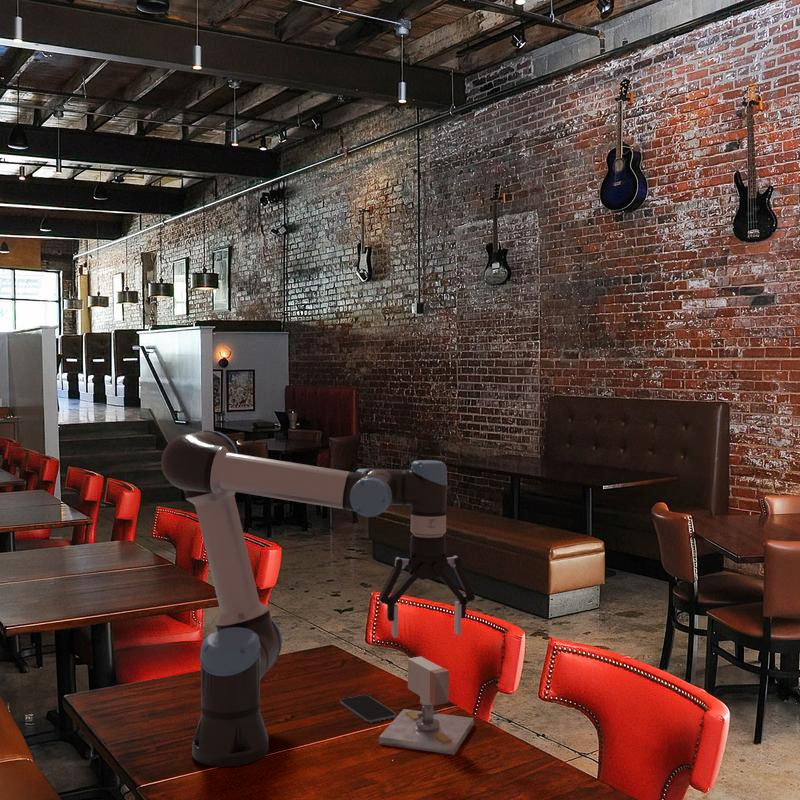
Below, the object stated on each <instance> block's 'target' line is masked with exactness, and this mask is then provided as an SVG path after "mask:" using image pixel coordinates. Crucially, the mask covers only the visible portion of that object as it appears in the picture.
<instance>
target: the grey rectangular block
mask: <svg viewBox="0 0 800 800" xmlns="http://www.w3.org/2000/svg"><path fill="white" fill-rule="evenodd" d="M407 689H408V690H409V691H411V692H413V693H414V694H416V695H418V696H419V703H420V704H421V705H422V704H423V705H433V706H438V705H443V704H447V703H448V704H449V702H450V670H449V669H446V668H445V667H441V666H440V665H438V664H436V663H434V662H432V661H431V660H428V659H426V658H425V657H424V656H421V655H420V656H415V657H410V658H409V657H408V659H407Z"/></svg>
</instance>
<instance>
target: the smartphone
mask: <svg viewBox="0 0 800 800" xmlns="http://www.w3.org/2000/svg"><path fill="white" fill-rule="evenodd" d="M339 703H340V704H341V705H342V706H344V707H345V708H346V709H347V710H349V711H350V712H352V713H353V714H355V715H356V716H357V717H358V716H359V718H360V719H361V718H362V720H363V721H364V722H365V723H367V722H369V723H368V724H374V723H373V722H375V723H378V722H377V721H379V722H382V721H381V720H384V721H387V720H386V719H388V720H392V719H391V718H393V719H395V718H396V717H397V714H396V712H394V711H393V710H392V709H390V708H388V707H387V706H386V705H383V703H381V702H379V701H378V700H376V699H374V698H373V697H371V696H370V695H367V694H361V695H360V694H359V695H356V696H351V697H347V698H340V700H339Z"/></svg>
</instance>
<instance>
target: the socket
mask: <svg viewBox="0 0 800 800" xmlns="http://www.w3.org/2000/svg"><path fill="white" fill-rule="evenodd" d="M474 720H475V718H474V717H467V716H463V715H462V716H459V715H453V714H446V713H445V714H444V713H438V710H434V705H423V704H421V711H420V710H413V709H407V708H403V709H402V711H400V712H399V713H398V715H396V717H395V718H393V721H392V722H391V723H390V724H389V725H388V726H387V727H386V728H385V730H383V732H382V733H381V734H380V735H379V736H378V745H383V746H392V747H396V748H397V747H398V748H403V749H405V748H406V749H410V750H417V751H426V752H433V753H440V754H446V755H451V756H452V755H453V756H455V755H456V753H457V751H458V750H459V748H460V747H461V745H462V744H463V742H464V741H465V739H466V738H467V736H468V734H469V733H470V731H471V730H472V728H473V727H474V724H475V723H474V722H475V721H474Z"/></svg>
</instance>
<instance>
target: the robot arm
mask: <svg viewBox="0 0 800 800" xmlns="http://www.w3.org/2000/svg"><path fill="white" fill-rule="evenodd" d="M161 469H162V472H163V475H164V476H165V478H166V480H167V481H168V483H170V484H171V485H172V486H174V487H175V488H178V489H179V490H182V491H183V492H184V497H185V500H186V501H187V502H189V503H191V504H193V505H194V507H195V510H196V515H197V519H198V520H197V521H198V524H199V528H200V531H201V535H202V540H203V545H204V549H205V553H206V558H207V561H208V565H209V570H210V573H211V578H212V582H213V585H214V591H215V595H216V599H217V603H218V608H219V611H220V614H219V615H218V618H216V621H215V625H216V627H215V628H216V630H217V631H216V630H215V631H213V632H212V633H211V632H210V634H208V635H207V636H206V637H205V638H204V639H203V641H202V642H201V643H202V644H201V647H200V653H199V655H200V657H199V663H200V706H201V708H200V718H199V720H198V723H197V728H196V730H195V732H194V736H193V740H192V744H191V745H192V747H191V753H192V754H191V755H192V758H193V759H194V760H195V761H196V762H197V763H200V764H201V765H205V766H209V767H216V768H231V767H238V766H243V765H248V764H252V763H254V762H256V761H259V760H260V759H262V758H264V757H265V756H266V755H267V754H268V752H269V748H270V743H269V740H270V738H269V734H268V731H267V729H266V724H265V722H264V719H263V716H262V714H261V679H262V678H264V676H265V674H266V673H268V671H269V670H270V669H272V667H273V666H274V665H275V664H276V662H277V661H278V659H279V656H280V654H281V651H282V647H283V636H282V632H281V629H280V627H279V625H278V624H277V623H276V621H274V620H272V616H271V613H270V612H271V611H270V609H269V607H268V606H267V605H265V604H264V603H262V602H261V601H260V597H259V593H258V590H257V589H258V588H257V585H256V581H255V576H254V571H253V569H252V565H251V560H250V556H249V552H248V547H247V543H246V539H245V534H244V531H243V526H242V522H241V518H240V514H239V510H238V506H237V502H236V497H235V496H236V493H241V494H248V495H254V496H259V497H260V496H261V497H264V498H265V497H267V498H273V499H279V500H285V501H292V502H296V503H305V504H310V505H316V506H323V507H328V508H336V509H340V510H341V509H342V510H347V511H350V512H351V511H352V512H356V513H357V514H359V515H360V516H362V517H365V518H372V517H377V516H379V515H381V514H382V513H384V512H386V510H387V509H389V507H390V506H410V529H409V530H410V532H411V533H412V534H411V535H410V536H409V538H410V539H409V540H410V541H409V557H408V558H402V557H400V556H396V557H395V558H394V562H393V568H392V570H391V571H390V574H389V576H388V578H387V579H386V582H385V584H384V586H383V588H382V589H381V591H380V594H379V596H378V600H379V601H380V603H381V604H383V605H386V606H387V608H386V609H387V610H386V611H387V612H386V619H387V620H388V621H389V622H391V636H392V637H393V638H394V639H397V638H398V637H399V636H398V635H399V634H398V631H399V628H398V627H399V626H398V625H399V606H398V604H397V603H398V601H399V600H400V599H401V597H402V596H403V595H404V594H405V593H406V591H407V590H408V589H409V588H410V587H411V585H412V584H413V583H415V582H416V581H417V579H419V580H422V581H423V580H428V579H430V580H436V579H438V578H440V579H441V581H442V582H443V583H444V584H445V585H446V587H448V589H449V590H450V591H451V593H453V595H454V596H455V597H456V599H458V600H456V601H454V619H453V620H454V622H453V626H454V628H453V630H454V631H453V632H454V633H455V634H456V635H457V636H462V619H465V618H466V616H467V604H468V602H470V601H474V600H475V598H476V596H475V593H474V592H473V590H472V588H471V586H470V584H469V581H468V579H467V577H466V575H465V573H464V571H463V569H462V562H461V557H458V555H452V556H451V557H447V537H446V535H445V534H446V533H447V501H448V500H447V499H448V469H447V464H445V463H444V461H441V460H433V459H424V460H423V459H421V460H420V459H419V460H414V461H412V463H411V467H410V468H409V469H392V468H391V469H389V468H387V469H386V468H374V467H370V468H358V469H357V470H356V471H355V472H351V471H347V470H341V469H336V468H328V467H321V466H315V465H310V464H303V463H297V462H291V461H286V460H285V461H284V460H277V459H272V458H265V457H259V456H252V455H247V454H241V453H239V452H238V449H237V447H236V444H235V443H234V442H233V440H232V439H231V438H230V437H228V436H227V435H226V434H224V433H222V432H220V431H215V430H209V429H208V430H200V431H198V432H192V433H185V434H183V435H179V436H177V437H175V438H173V439H172V440H171V441H170V442H169V443H168V444H167V445H166V447H165V448H164V449H163V453H162V455H161ZM407 565H408V566H409V568H410V570H409V571H408V572H407V574H406V576H405V577H404V579H403V580H402V581H401V582H400V584H398V586H397V587H394V586H395V585H396V583H397V581H398V579H399V577H400V575H401V574H402V570H404V569H405V568H406V566H407ZM448 565H450V567H451V568H452V569H453V570H454V573H455V575H456V577H457V579H458V581H459V583H460V585H461V588H462V589H463V592H464V593H465V594H462V592H461V591H460V590H459V588H458V587H456V585H455V583H453V582H452V580H451V579H450V578H449V576H447V574H446V573H445V572H444V570H445V568H446V567H447V566H448ZM393 588H395V589H394V590H393ZM392 590H393V592H392Z"/></svg>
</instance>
